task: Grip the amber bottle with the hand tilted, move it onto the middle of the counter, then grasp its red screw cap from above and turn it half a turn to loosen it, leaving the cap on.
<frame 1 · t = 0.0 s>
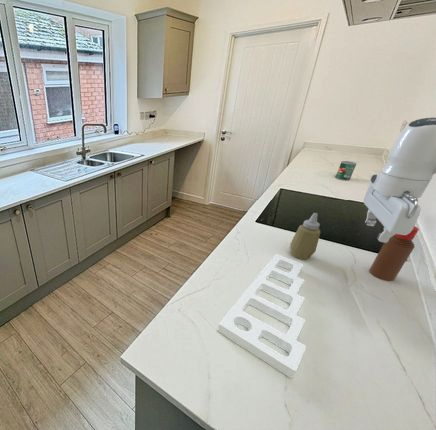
hand: (375, 232, 72), 22 cm above the worktop, tool pointing down, fingers open, 8 cm apart
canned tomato: (342, 178, 178), on the worktop
squeeze bottle: (299, 255, 100), on the worktop
cap: (408, 228, 80), point 19 cm above the worktop, screwed on, not yet turned
bottle: (380, 277, 89), on the worktop
holder: (280, 304, 79), on the worktop
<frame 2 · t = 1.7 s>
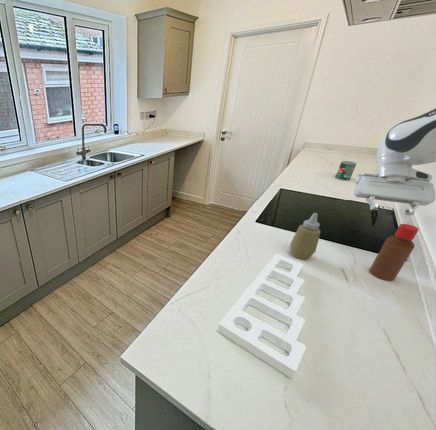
hand: (391, 212, 90), 19 cm above the worktop, tool tilted 45°, fingers open, 8 cm apart
nothing on the worktop moved.
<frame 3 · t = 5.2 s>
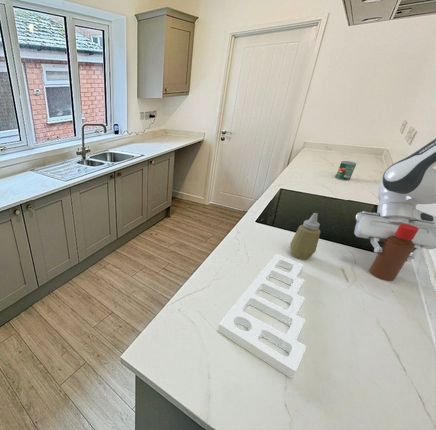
hand: (394, 255, 84), 9 cm above the worktop, tool tilted 45°, fingers closed on bottle, 6 cm apart
bottle: (380, 277, 89), on the worktop, touching gripper
everything else where it was.
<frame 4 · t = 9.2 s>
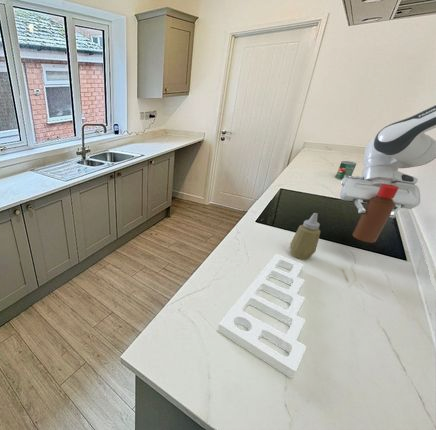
hand: (376, 215, 89), 19 cm above the worktop, tool tilted 45°, fingers closed on bottle, 6 cm apart
cap: (389, 187, 85), point 29 cm above the worktop, screwed on, not yet turned
bottle: (363, 237, 94), point 10 cm above the worktop, touching gripper
everything else where it was.
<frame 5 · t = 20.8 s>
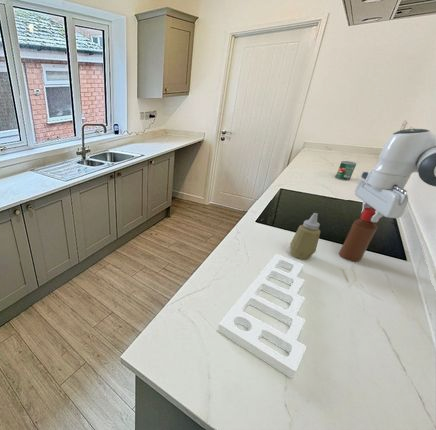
hand: (368, 217, 92), 17 cm above the worktop, tool pointing down, fingers closed on cap, 4 cm apart
cap: (371, 211, 90), point 19 cm above the worktop, screwed on, not yet turned, touching gripper
bottle: (349, 256, 99), on the worktop
everything else where it was.
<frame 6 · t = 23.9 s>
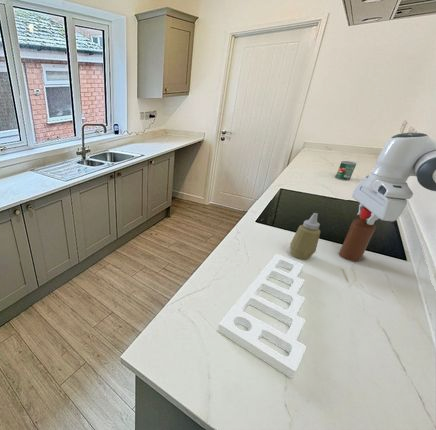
hand: (364, 220, 93), 16 cm above the worktop, tool pointing down, fingers closed on cap, 4 cm apart
cap: (370, 210, 91), point 20 cm above the worktop, turned 180° so far, risen 0.2 cm, still on its thread, touching gripper
bottle: (349, 256, 99), on the worktop, touching gripper
everything else where it was.
when the fingers open (15 cm above the worktop, at t = 25.6 s): cap moves 3 cm, point 20 cm above the worktop.
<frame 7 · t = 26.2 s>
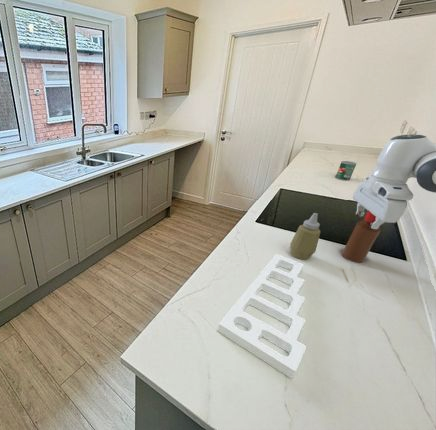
hand: (365, 221, 93), 15 cm above the worktop, tool pointing down, fingers open, 8 cm apart
cap: (375, 212, 89), point 20 cm above the worktop, tilted 6°, turned 179° so far, risen 0.2 cm, still on its thread, touching gripper
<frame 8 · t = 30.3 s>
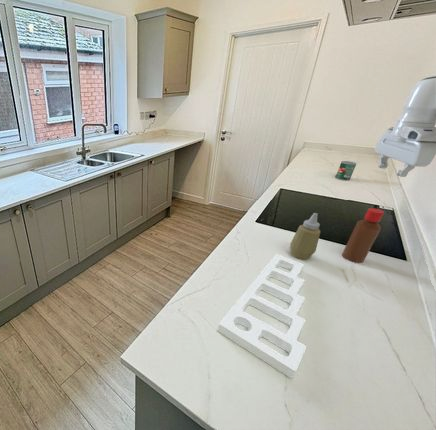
hand: (391, 171, 92), 31 cm above the worktop, tool pointing down, fingers open, 8 cm apart
cap: (375, 211, 90), point 19 cm above the worktop, turned 179° so far, risen 0.2 cm, still on its thread
bottle: (352, 257, 99), on the worktop
everything else where it was.
at the end: bottle 0.9 cm from the target spot, on the worktop; cap turned 0.50 turns (still on its thread); cap is still on its thread (0.50 turns) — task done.
